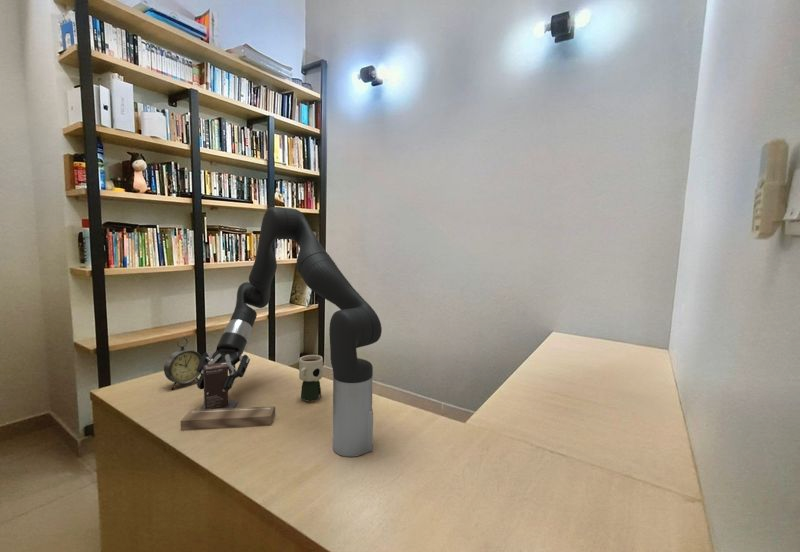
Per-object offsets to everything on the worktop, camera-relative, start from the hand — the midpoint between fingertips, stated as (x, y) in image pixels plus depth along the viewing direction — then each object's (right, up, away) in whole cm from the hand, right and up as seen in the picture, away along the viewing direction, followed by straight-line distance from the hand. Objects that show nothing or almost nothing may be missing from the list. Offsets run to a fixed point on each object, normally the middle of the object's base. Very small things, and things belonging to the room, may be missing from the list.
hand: (212, 389), depth 100 cm
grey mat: (0, -7, +2) cm, 7 cm away
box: (0, -6, +2) cm, 6 cm away
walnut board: (+7, -7, -4) cm, 11 cm away
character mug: (+25, -7, +11) cm, 28 cm away
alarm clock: (-20, -5, +20) cm, 29 cm away
